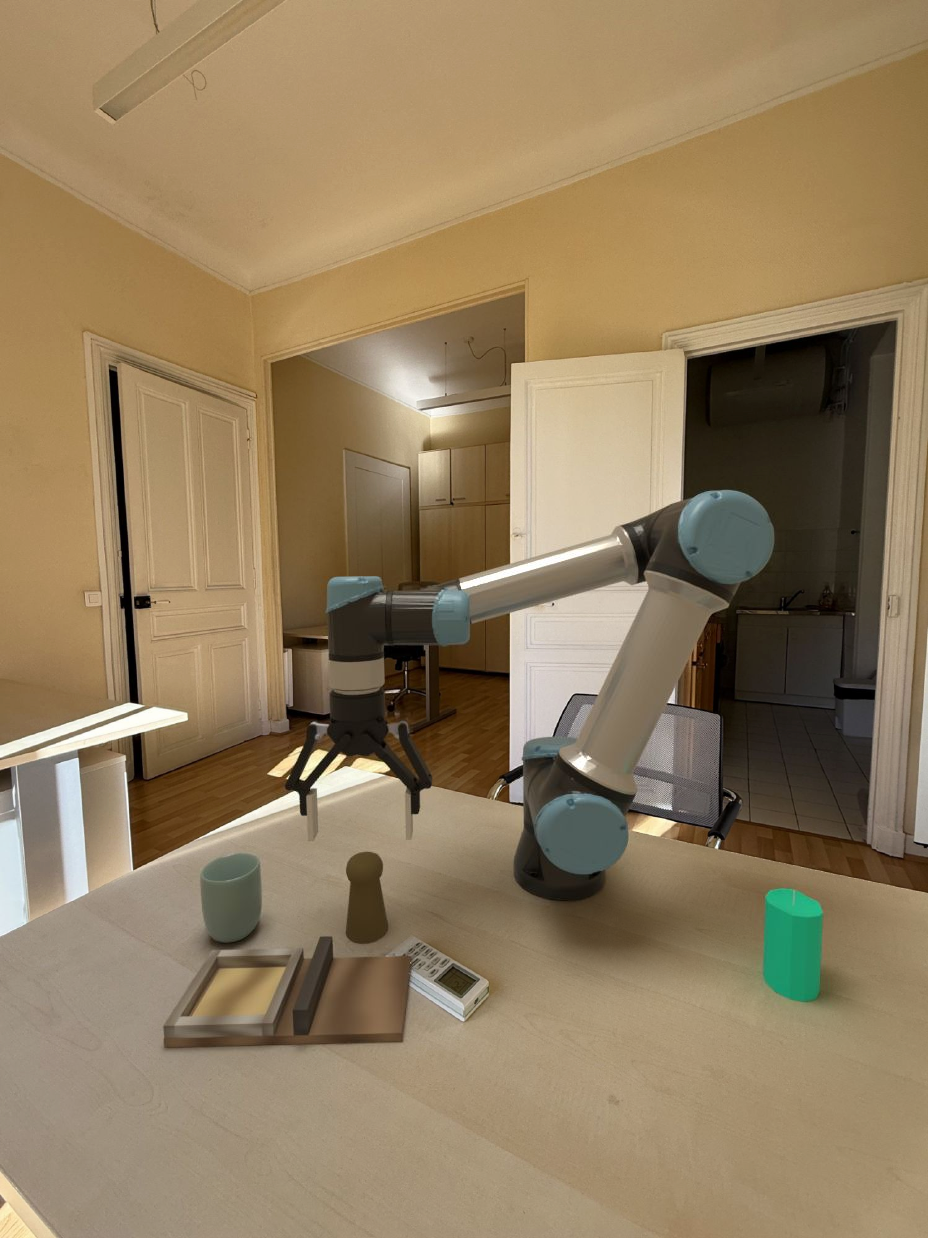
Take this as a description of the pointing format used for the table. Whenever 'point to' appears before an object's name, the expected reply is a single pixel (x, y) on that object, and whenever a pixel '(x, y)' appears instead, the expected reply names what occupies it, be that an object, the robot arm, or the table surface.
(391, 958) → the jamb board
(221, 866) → the cup
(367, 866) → the brown game pawn
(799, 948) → the candle
